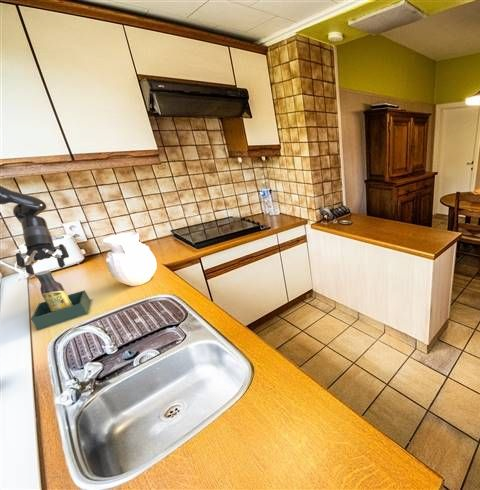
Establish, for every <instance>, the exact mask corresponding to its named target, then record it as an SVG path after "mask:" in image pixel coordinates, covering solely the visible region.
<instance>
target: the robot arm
mask: <svg viewBox="0 0 480 490" xmlns="http://www.w3.org/2000/svg"><path fill="white" fill-rule="evenodd" d="M7 204H16V205H15V206H13V209H12V214H13V216H14V217H15V218H16V219H17V221H18V222H19V223H20V224H21V228H22V236H23V241H24V243H25V247H26V252H23V253H20V252H17V253H15V259H16V265H17V266H18V267H19V268H21V269H24V268H25V271H26V273H27V274H29V275H31V276H33V275H35V271H34V270H35V269H34V267H33V266H34V265H35V264H36V263H37V262H38V261H42V260H46V259H47V260H48V259H51V257H52V258H54V259H56V261H57V265H58V267H59V268H60V269H61V268H64V266H66V263H65V260H64V259H67V258H69V257H70V255H69V252H68V250H67V248H66V246H65V245H64V244H62V243H60V244H59V245H56V246H55V244H54V242H53V241H54V240H53V237H52V234H51V231H50V230H49V227H48V223H47V221H46V219H45V218H44V217H42V216H39V215H40V214H41V213H42V212H44V211H46V210H47V204H46V203H45V202H44V201H43V200H42V199H40V198H38V197H35V196H33V195H29V194H26V193H22V192H18V191H14V190H11V189H9V188H7V187H5V186H2V185H0V205H4V206H5V205H7ZM57 250H58V251H59V252H60V253H61V254H58V253H56V252H57ZM26 258H27V259H26ZM25 259H26V261H25Z"/></svg>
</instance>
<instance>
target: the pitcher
mask: <svg viewBox="0 0 480 490" xmlns="http://www.w3.org/2000/svg"><path fill="white" fill-rule="evenodd" d="M139 240H140V233H139V232H136V231H130V232H128V231H127V232H121V233H118V234H113V235H110V236H107V237H105V238H103V240H102V243H103V244H104V246H106V247H107V248H109V250H111V251H107V254H106V258H105V262H106V266H107V270H108V272H109V274H110V275H111V277H112V278H113V279H115V280H116V281H117V282H119V283H121V284H124V285H127V286H129V287H137V286H140V285H143V284H145V283H148V282H149V281H150V280H151V279H152V277H154V274H155V273H156V271H157V268H158V267H157V264H158V263H157V260H156V257H155V255H154V253H153V252H152V251H151V250H150V247H149V246H148V245H147V244H145V243H142V242H141V241H139Z"/></svg>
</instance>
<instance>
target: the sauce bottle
mask: <svg viewBox="0 0 480 490" xmlns="http://www.w3.org/2000/svg"><path fill="white" fill-rule="evenodd" d="M35 278H36V279H38V281H39V284H40V293H41V296H42V298H43V300H44V302H46V303H47V305H48V307H49V308H50V310H51V312H54V311H57V310H60V309H63V308H67V307H70V306H73V305H72V303H71V301H70V299H69V297H68V295H69V294H68V293H67V292H66V290H65V288H64V287H63V285H62V283H60V282H58V281H57V280H55V278H54V276H53V275H52V272H51V270H42V271H39V272H37V273H35Z"/></svg>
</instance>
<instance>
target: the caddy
mask: <svg viewBox="0 0 480 490" xmlns="http://www.w3.org/2000/svg"><path fill="white" fill-rule="evenodd" d="M67 295H68V297H69V299H70V301H71V303H72V305H73V306H70V307H67V308H63V309H60V310H57V311H54V312H51V310H50V308H49V307H48V305H47V303H46V301H42V302H39V303H38V304H37V306H36V308H35V310H34V312H33V314H32V315H31V317H30V320H31V323H33V325H34V326H35V328H36V329H37V330H38V331H40V330H42V329H46V328H49V327H51V326H55V325H57V324H61V323H63V322H66V321H70V320H74V319H76V318H80V317H82V316H85V315H88V312H89V307H90V302H91V299H90V297H89V296H88V293H87V292H86V290H81V291H78V292H73V293H70V294H67Z"/></svg>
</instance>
